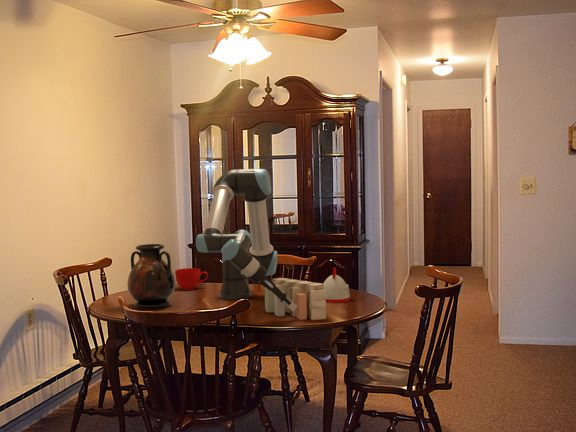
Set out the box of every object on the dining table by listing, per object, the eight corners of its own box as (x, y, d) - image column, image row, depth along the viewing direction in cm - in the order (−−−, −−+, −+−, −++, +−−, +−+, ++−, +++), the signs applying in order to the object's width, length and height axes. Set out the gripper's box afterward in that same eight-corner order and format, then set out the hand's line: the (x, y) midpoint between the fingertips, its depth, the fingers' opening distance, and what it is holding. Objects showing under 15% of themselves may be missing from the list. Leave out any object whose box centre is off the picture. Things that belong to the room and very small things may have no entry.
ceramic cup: (206, 290, 348) (206, 271, 347) (173, 291, 348) (173, 272, 347) (210, 286, 361) (209, 267, 360) (178, 287, 361) (177, 268, 360)
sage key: (265, 310, 296) (264, 287, 296) (271, 309, 297) (271, 287, 296) (267, 312, 291) (267, 289, 291) (274, 312, 292) (274, 288, 292)
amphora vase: (183, 301, 321) (180, 242, 319) (165, 311, 300) (163, 248, 298) (140, 301, 325) (137, 242, 323) (120, 310, 304) (117, 248, 302)
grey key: (274, 314, 288) (274, 290, 287) (281, 313, 289) (280, 290, 288) (277, 316, 283) (277, 292, 283) (284, 316, 284) (284, 292, 283)
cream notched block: (264, 311, 296) (263, 279, 295) (280, 307, 303) (279, 276, 302) (317, 321, 274) (316, 287, 273) (333, 317, 280) (332, 283, 279)
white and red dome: (350, 297, 322) (350, 265, 321) (348, 303, 309) (348, 270, 308) (321, 297, 325) (320, 265, 324) (318, 303, 311) (317, 270, 310)
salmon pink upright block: (296, 317, 281) (295, 293, 281) (303, 316, 282) (302, 292, 281) (299, 319, 276) (299, 295, 276) (306, 319, 277) (306, 294, 277)
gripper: (244, 275, 278) (284, 312, 284) (250, 280, 266) (293, 319, 271) (256, 261, 279) (296, 298, 285) (263, 265, 267) (305, 304, 272)
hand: (295, 308), depth 278 cm, fingers closed
